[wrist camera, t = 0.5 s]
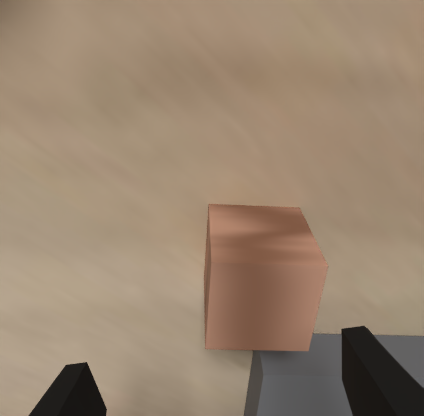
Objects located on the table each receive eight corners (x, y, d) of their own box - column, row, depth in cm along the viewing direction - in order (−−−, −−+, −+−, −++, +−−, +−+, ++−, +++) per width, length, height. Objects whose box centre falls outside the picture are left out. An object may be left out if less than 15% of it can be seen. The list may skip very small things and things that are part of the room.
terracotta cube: (299, 207, 20) (328, 266, 15) (286, 280, 22) (308, 351, 17) (208, 203, 20) (211, 262, 15) (204, 277, 22) (205, 349, 17)
